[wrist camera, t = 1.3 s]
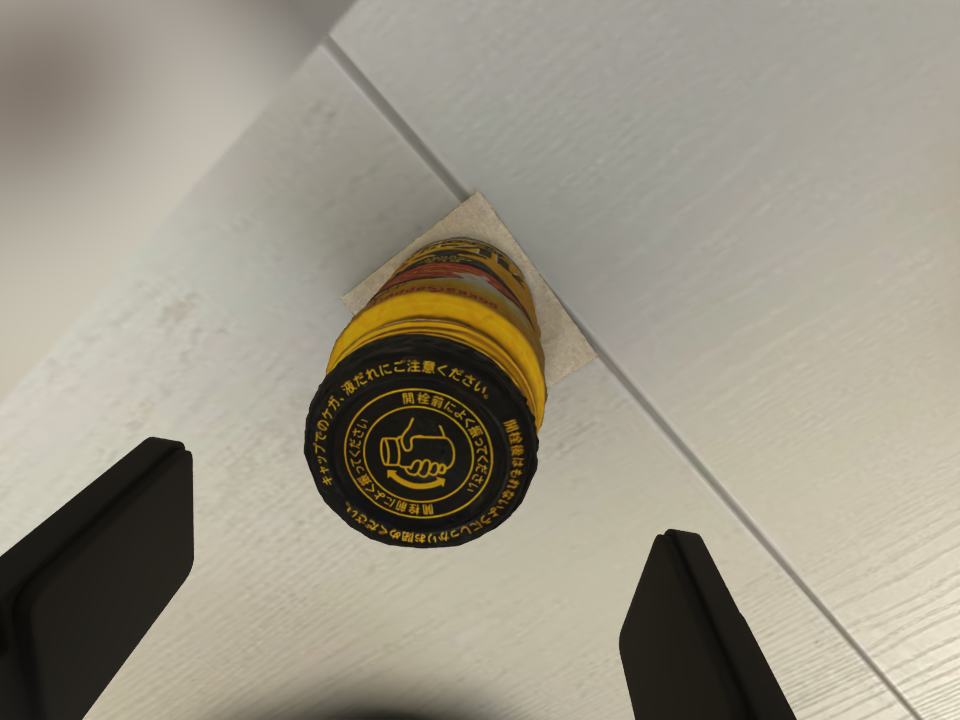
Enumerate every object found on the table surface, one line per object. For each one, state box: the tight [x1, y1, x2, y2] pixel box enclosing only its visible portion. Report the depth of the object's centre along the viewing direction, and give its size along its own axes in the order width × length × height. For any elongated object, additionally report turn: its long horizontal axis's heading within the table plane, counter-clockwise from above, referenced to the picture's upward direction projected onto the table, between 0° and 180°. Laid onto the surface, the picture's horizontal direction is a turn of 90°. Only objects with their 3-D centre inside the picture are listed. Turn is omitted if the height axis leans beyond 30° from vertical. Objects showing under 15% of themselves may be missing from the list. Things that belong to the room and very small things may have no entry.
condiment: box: [304, 190, 598, 548], centre depth 18 cm, size 7×8×12 cm
